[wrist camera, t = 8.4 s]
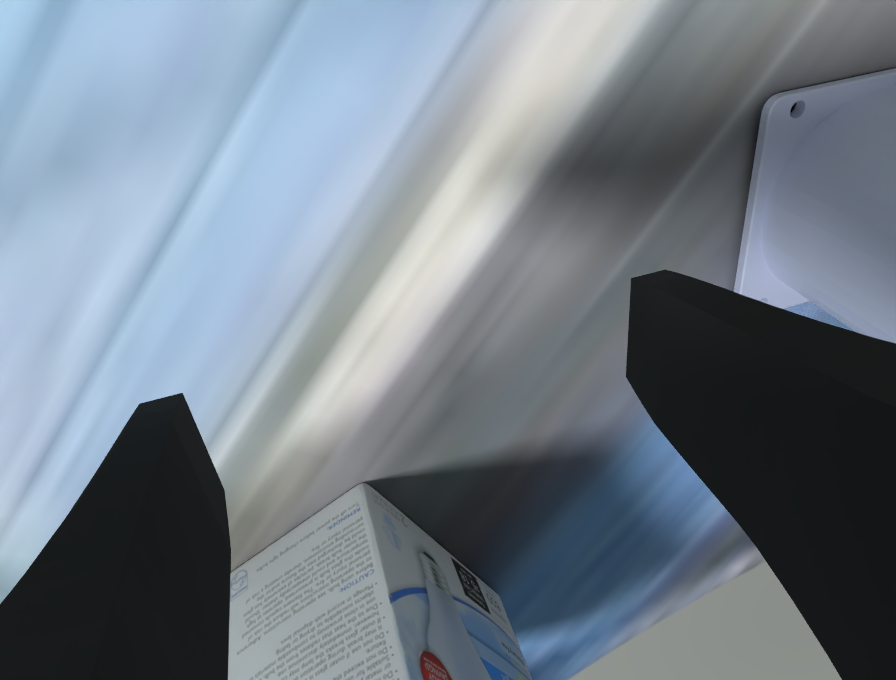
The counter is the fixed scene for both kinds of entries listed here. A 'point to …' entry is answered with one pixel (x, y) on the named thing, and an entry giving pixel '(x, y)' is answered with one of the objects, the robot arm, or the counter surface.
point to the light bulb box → (365, 604)
